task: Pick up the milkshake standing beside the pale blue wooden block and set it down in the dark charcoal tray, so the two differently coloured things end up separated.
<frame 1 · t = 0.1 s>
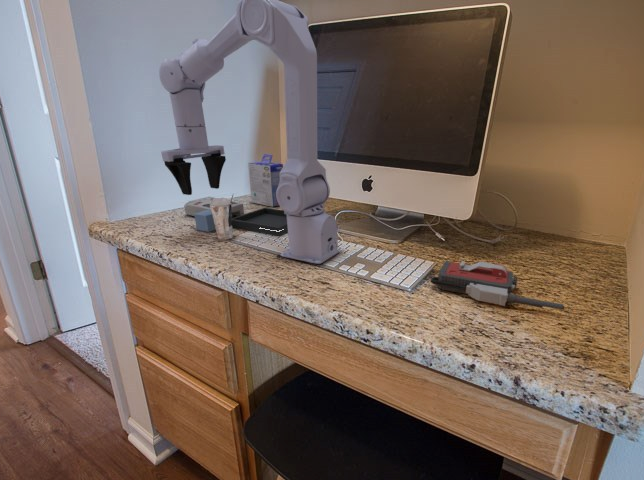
hand: (201, 191, 83), 10 cm above the table, tool pointing down, fingers open, 7 cm apart
blue block: (209, 228, 91), on the table
tray: (271, 224, 95), on the table
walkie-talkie: (493, 294, 61), on the table
handheld gaming device: (214, 216, 102), on the table
milkshake: (227, 238, 85), on the table
ink cartridge box: (269, 204, 115), on the table
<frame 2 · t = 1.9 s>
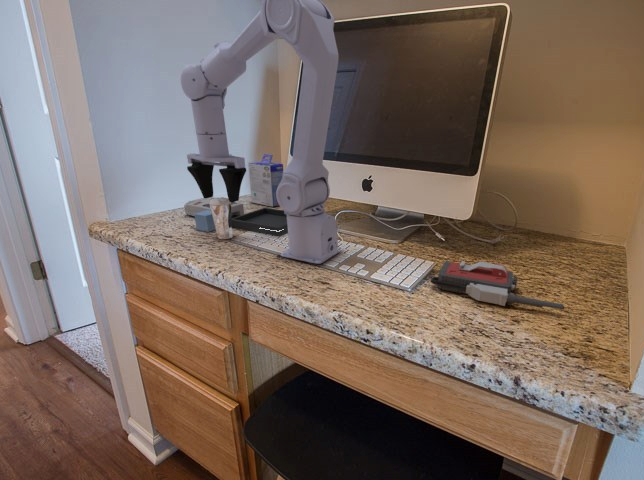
hand: (221, 199, 82), 9 cm above the table, tool pointing down, fingers open, 7 cm apart
nothing on the table moved.
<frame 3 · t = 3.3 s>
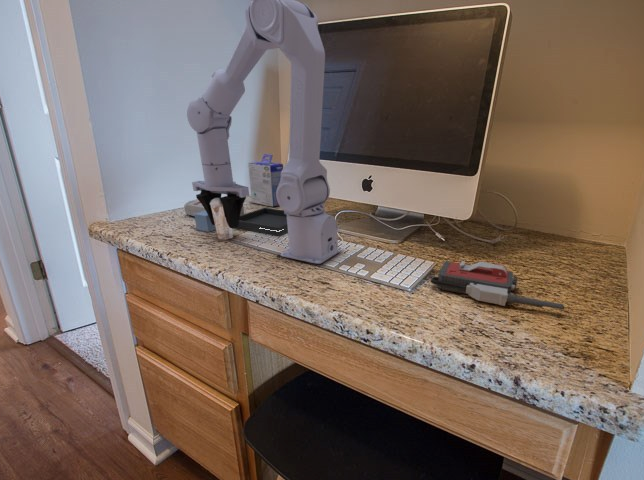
hand: (225, 225, 84), 3 cm above the table, tool pointing down, fingers closed on milkshake, 5 cm apart
milkshake: (227, 238, 85), on the table, touching gripper
everything else where it was.
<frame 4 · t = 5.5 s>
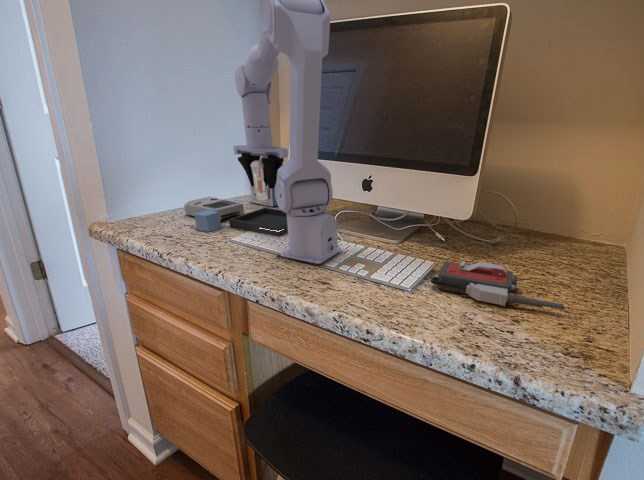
hand: (263, 186, 90), 10 cm above the table, tool pointing down, fingers closed on milkshake, 5 cm apart
milkshake: (265, 199, 91), point 7 cm above the table, touching gripper
everything else where it was.
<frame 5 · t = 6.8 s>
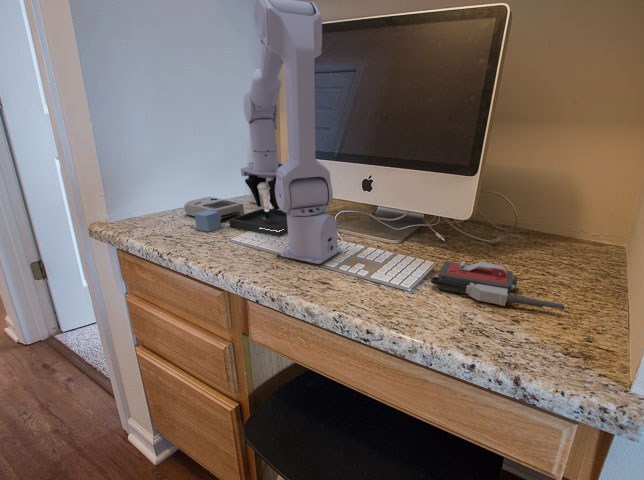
hand: (269, 207, 93), 4 cm above the table, tool pointing down, fingers closed on milkshake, 5 cm apart
milkshake: (271, 219, 94), point 1 cm above the table, touching gripper
everything else where it was.
when the fingers open (3 cm above the table, at t = 7.6 s): milkshake stays where it is, resting on tray.
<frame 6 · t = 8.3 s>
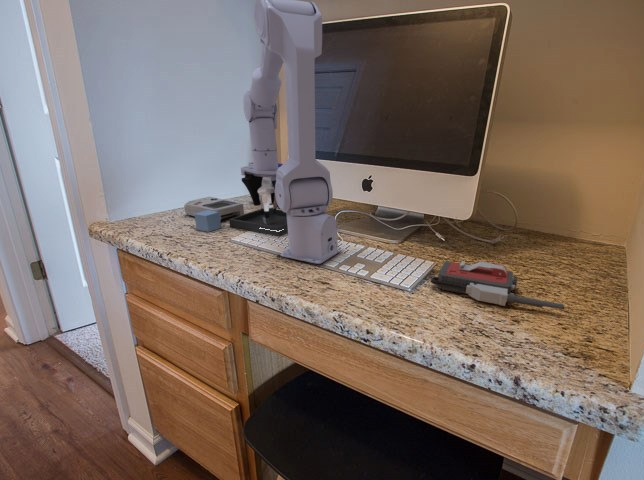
hand: (269, 206, 93), 5 cm above the table, tool pointing down, fingers open, 7 cm apart
milkshake: (271, 223, 95), resting on tray
everything else where it was.
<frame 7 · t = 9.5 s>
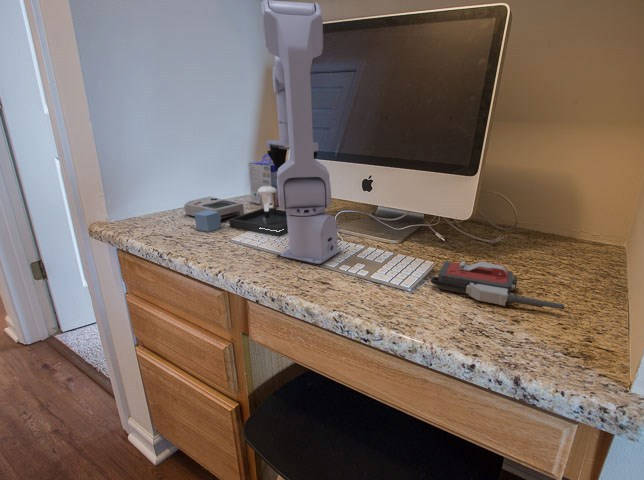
hand: (294, 178, 97), 10 cm above the table, tool pointing down, fingers open, 7 cm apart
nothing on the table moved.
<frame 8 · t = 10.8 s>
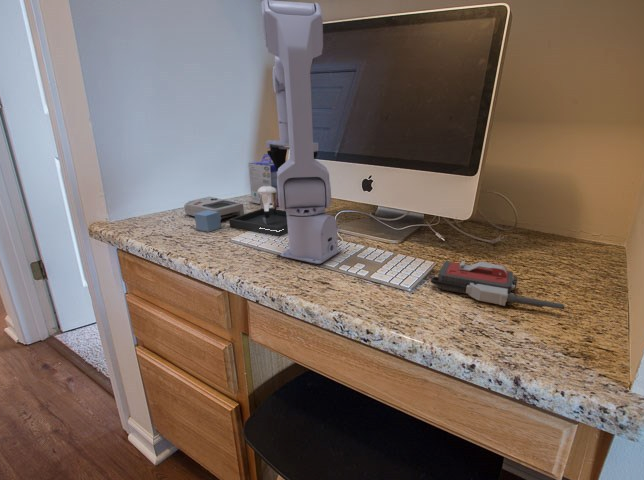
hand: (294, 178, 97), 10 cm above the table, tool pointing down, fingers open, 7 cm apart
nothing on the table moved.
at the end: milkshake inside the target area in the tray (0.1 cm from its centre), point 0.3 cm above the tray's base; blue block moved 0.0 cm from its start; milkshake tilted 0° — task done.
